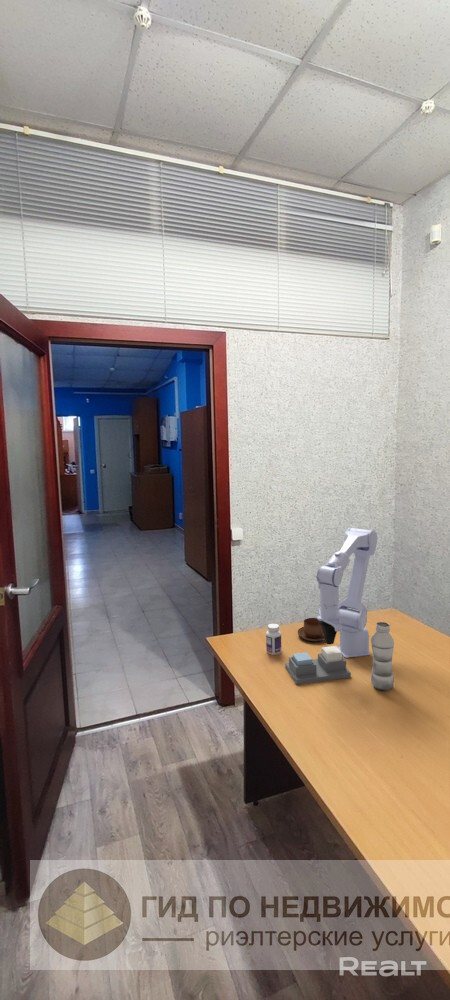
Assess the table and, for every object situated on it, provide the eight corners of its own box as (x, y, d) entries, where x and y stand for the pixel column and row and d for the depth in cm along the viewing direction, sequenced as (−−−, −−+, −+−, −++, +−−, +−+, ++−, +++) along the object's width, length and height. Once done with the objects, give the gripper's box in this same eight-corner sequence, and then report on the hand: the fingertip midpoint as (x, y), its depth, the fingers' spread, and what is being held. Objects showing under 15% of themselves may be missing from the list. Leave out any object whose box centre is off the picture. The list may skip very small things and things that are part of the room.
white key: (335, 654, 148) (335, 645, 147) (341, 661, 143) (341, 652, 142) (321, 656, 147) (321, 647, 146) (327, 663, 142) (327, 654, 142)
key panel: (335, 660, 151) (336, 648, 151) (350, 677, 141) (350, 663, 140) (285, 667, 148) (285, 654, 148) (296, 684, 137) (296, 671, 137)
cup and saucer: (293, 632, 175) (293, 617, 174) (322, 628, 177) (322, 614, 176) (304, 645, 163) (304, 629, 162) (334, 642, 165) (334, 626, 165)
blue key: (306, 660, 146) (306, 652, 145) (312, 668, 141) (312, 659, 141) (292, 662, 145) (292, 654, 145) (297, 670, 140) (297, 661, 140)
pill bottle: (281, 648, 162) (280, 622, 160) (281, 655, 156) (281, 629, 155) (266, 647, 162) (265, 622, 161) (266, 655, 157) (265, 628, 156)
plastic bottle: (395, 694, 131) (397, 629, 128) (371, 692, 132) (372, 628, 129) (392, 682, 137) (393, 620, 134) (369, 680, 138) (369, 619, 136)
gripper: (309, 596, 148) (309, 635, 150) (326, 613, 134) (326, 655, 136) (329, 594, 150) (329, 632, 152) (348, 610, 136) (348, 652, 137)
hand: (329, 643), depth 144 cm, fingers closed
